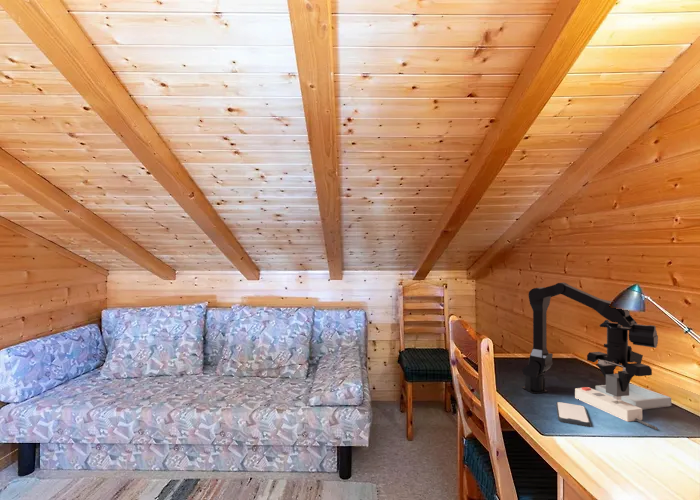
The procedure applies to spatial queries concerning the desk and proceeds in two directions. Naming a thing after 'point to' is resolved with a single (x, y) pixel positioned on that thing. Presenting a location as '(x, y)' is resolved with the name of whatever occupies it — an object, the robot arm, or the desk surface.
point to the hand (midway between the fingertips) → (617, 389)
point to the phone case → (572, 414)
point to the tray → (641, 397)
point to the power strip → (611, 405)
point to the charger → (615, 386)
